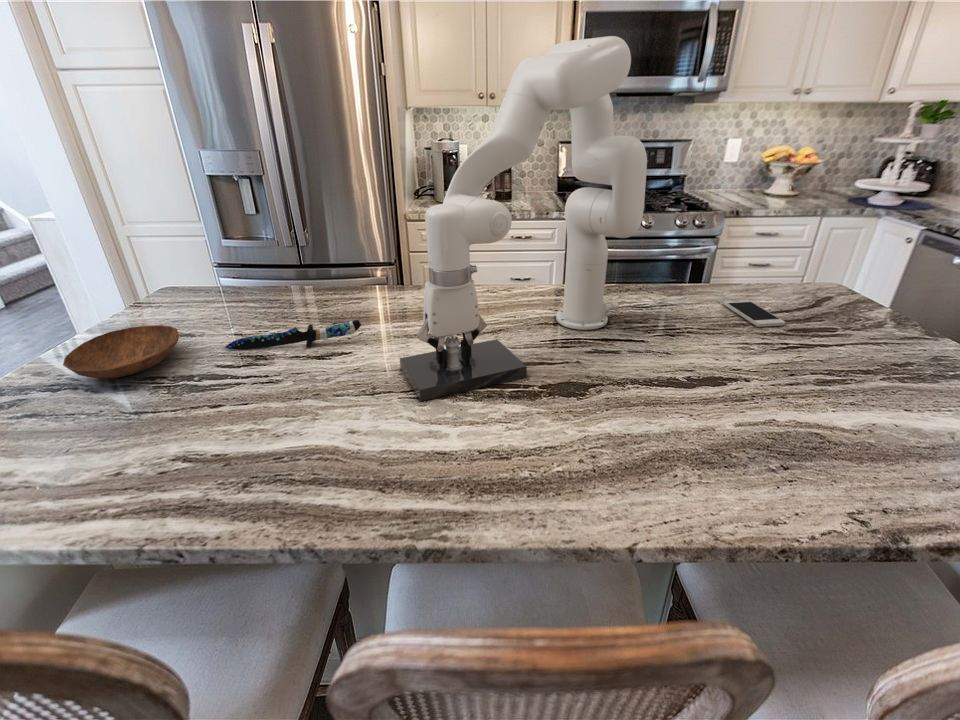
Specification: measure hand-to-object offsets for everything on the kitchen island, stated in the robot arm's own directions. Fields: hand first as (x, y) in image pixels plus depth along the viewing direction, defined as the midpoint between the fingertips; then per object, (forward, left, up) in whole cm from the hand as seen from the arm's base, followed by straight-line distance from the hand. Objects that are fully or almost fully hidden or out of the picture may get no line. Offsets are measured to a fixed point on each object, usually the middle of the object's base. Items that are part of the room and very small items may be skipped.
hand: (454, 362), depth 99 cm
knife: (+28, -28, -3) cm, 40 cm away
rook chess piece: (0, 0, -3) cm, 3 cm away
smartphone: (-80, +2, -3) cm, 80 cm away
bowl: (+61, -32, -3) cm, 69 cm away
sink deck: (-2, 0, -3) cm, 3 cm away
